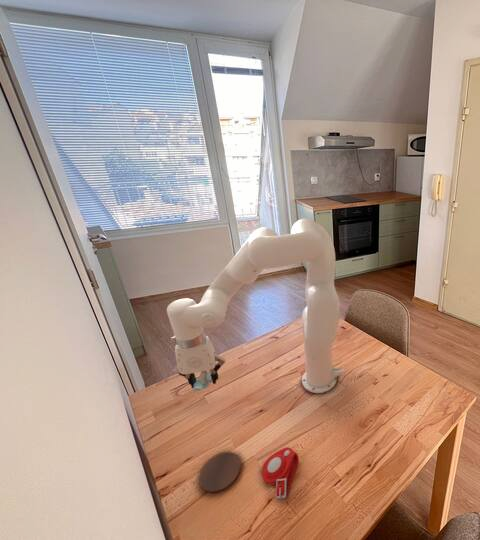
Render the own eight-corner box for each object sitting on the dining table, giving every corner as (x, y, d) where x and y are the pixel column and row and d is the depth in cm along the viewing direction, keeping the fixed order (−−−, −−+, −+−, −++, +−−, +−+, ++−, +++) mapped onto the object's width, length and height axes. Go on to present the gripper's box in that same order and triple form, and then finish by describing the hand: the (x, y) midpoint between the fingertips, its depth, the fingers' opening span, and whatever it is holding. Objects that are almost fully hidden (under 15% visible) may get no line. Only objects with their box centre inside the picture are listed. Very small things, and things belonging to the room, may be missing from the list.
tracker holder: (252, 470, 77) (282, 438, 83) (260, 479, 79) (288, 447, 85) (276, 499, 69) (307, 461, 75) (284, 508, 71) (314, 470, 77)
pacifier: (187, 393, 92) (205, 394, 92) (181, 378, 90) (200, 379, 89) (200, 375, 99) (217, 376, 99) (196, 361, 96) (213, 362, 96)
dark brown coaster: (242, 450, 83) (242, 448, 83) (239, 487, 75) (238, 485, 74) (204, 458, 81) (203, 456, 81) (195, 498, 72) (195, 496, 72)
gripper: (154, 351, 83) (172, 397, 90) (220, 341, 87) (231, 386, 94) (163, 335, 89) (178, 379, 97) (223, 326, 93) (234, 369, 101)
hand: (204, 382), depth 95 cm, fingers closed on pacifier, 5 cm apart
